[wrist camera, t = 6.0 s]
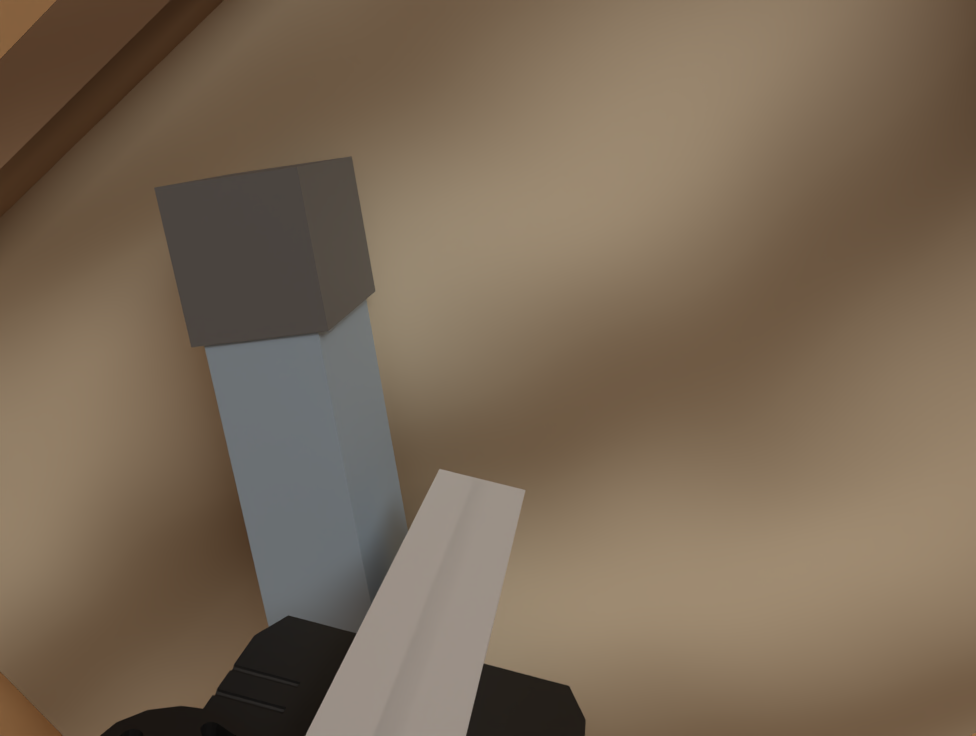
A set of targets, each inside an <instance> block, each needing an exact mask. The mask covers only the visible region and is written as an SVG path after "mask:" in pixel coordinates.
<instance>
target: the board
mask: <svg viewBox="0 0 976 736" xmlns="http://www.w3.org/2000/svg"><path fill="white" fill-rule="evenodd" d="M350 156H352V161H353V166H354V172H355V178H356V183H357V189H358V195H359V200H360V206H361V212H362V217H363V223H364V229H365V234H366V240H367V246H368V251H369V257H370V263H371V268H372V274H373V280H374V285H375V292H374V293H373V294H372V295H370V296H369V297H368V298H367V299H366V301H367V306H368V312H369V317H370V323H371V328H372V334H373V340H374V345H375V351H376V356H377V362H378V367H379V373H380V379H381V384H382V390H383V395H384V401H385V406H386V412H387V418H388V423H389V429H390V434H391V440H392V445H393V451H394V456H395V462H396V468H397V473H398V479H399V484H400V490H401V495H402V501H403V507H404V512H405V518H406V523H407V529H408V531H409V529H410V527H411V525H412V523H413V521H414V519H415V517H416V515H417V513H418V511H419V509H420V507H421V505H422V503H423V501H424V499H425V497H426V495H427V493H428V491H429V489H430V487H431V485H432V483H433V481H434V479H435V477H436V475H437V473H438V471H439V469H442V470H446V471H450V472H454V473H458V474H462V475H466V476H470V477H475V478H479V479H483V480H487V481H491V482H495V483H499V484H503V485H507V486H511V487H515V488H519V489H523V490H525V494H524V498H523V502H522V507H521V511H520V515H519V519H518V523H517V528H516V532H515V536H514V540H513V544H512V549H511V553H510V557H509V561H508V566H507V570H506V574H505V578H504V582H503V587H502V591H501V595H500V599H499V603H498V608H497V612H496V616H495V620H494V624H493V629H492V633H491V637H490V641H489V645H488V650H487V654H486V658H485V662H484V664H488V665H492V666H496V667H499V668H503V669H507V670H511V671H515V672H518V673H522V674H526V675H530V676H534V677H537V678H541V679H545V680H549V681H553V682H556V683H560V684H564V685H568V686H570V689H571V691H572V693H573V695H574V697H575V699H576V701H577V703H578V705H579V707H580V709H581V711H582V713H583V715H584V717H585V719H586V725H585V736H970V735H972V734H974V733H976V0H57V1H56V2H55V3H54V4H53V5H52V6H51V7H50V8H49V9H48V10H47V11H46V12H45V13H44V14H43V15H42V16H41V17H40V18H39V19H38V20H37V21H36V22H35V23H34V25H33V26H32V27H31V28H30V29H29V30H28V31H27V32H26V33H25V34H24V35H23V36H22V37H21V38H20V39H19V40H18V41H17V42H16V43H15V44H14V45H13V46H12V47H11V48H10V49H9V50H8V52H7V53H6V54H5V55H4V56H3V57H2V58H1V59H0V672H1V673H2V674H3V675H4V676H5V677H6V678H7V679H8V680H9V681H10V682H11V683H12V684H13V685H14V686H15V687H16V688H17V689H18V690H19V691H20V692H21V693H22V694H23V695H24V696H25V697H26V698H27V699H28V700H29V701H30V702H31V703H32V704H33V705H34V706H35V708H36V709H37V710H38V711H39V712H40V713H41V714H42V715H43V716H44V717H45V718H46V719H47V720H48V721H49V722H50V723H51V724H52V725H53V726H54V727H55V728H56V729H57V730H58V731H59V732H60V733H61V734H62V735H63V736H100V735H101V734H103V733H104V732H105V731H106V730H107V729H109V728H110V727H111V726H112V725H114V724H115V723H116V722H118V721H121V720H123V719H126V718H128V717H131V716H133V715H136V714H139V713H141V712H144V711H146V710H151V709H159V708H167V707H176V706H187V707H195V708H202V709H203V708H204V706H205V705H206V704H207V702H208V701H209V699H210V698H211V696H212V695H215V694H216V691H217V688H218V686H219V685H220V684H221V682H222V681H223V679H224V678H225V676H226V675H227V674H228V672H229V671H230V670H232V669H233V666H234V663H235V662H236V661H237V659H238V658H239V656H240V655H241V653H242V652H243V651H244V649H245V648H246V646H247V645H248V643H249V642H250V641H251V639H252V638H253V636H254V635H256V634H257V633H259V632H261V631H262V630H264V629H266V628H268V627H269V626H268V622H267V617H266V613H265V609H264V604H263V600H262V596H261V591H260V587H259V582H258V578H257V574H256V569H255V565H254V561H253V556H252V552H251V548H250V543H249V539H248V534H247V530H246V526H245V521H244V517H243V513H242V508H241V504H240V500H239V495H238V491H237V486H236V482H235V478H234V473H233V469H232V465H231V460H230V456H229V452H228V447H227V443H226V438H225V434H224V430H223V425H222V421H221V417H220V412H219V408H218V404H217V399H216V395H215V390H214V386H213V382H212V377H211V373H210V369H209V364H208V360H207V356H206V351H205V347H204V346H199V347H191V344H190V340H189V335H188V331H187V327H186V323H185V318H184V314H183V310H182V305H181V301H180V297H179V293H178V288H177V284H176V280H175V275H174V271H173V267H172V262H171V258H170V254H169V250H168V245H167V241H166V237H165V232H164V228H163V224H162V220H161V215H160V211H159V207H158V202H157V198H156V194H155V190H154V187H160V186H166V185H171V184H177V183H183V182H188V181H194V180H200V179H205V178H211V177H217V176H222V175H228V174H234V173H241V172H247V171H254V170H261V169H268V168H275V167H282V166H289V165H295V164H302V163H309V162H316V161H323V160H330V159H336V158H343V157H350Z"/></svg>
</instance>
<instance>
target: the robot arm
mask: <svg viewBox="0 0 976 736" xmlns="http://www.w3.org/2000/svg"><path fill="white" fill-rule="evenodd" d="M524 494H525V490H523V489H519V488H515V487H511V486H507V485H503V484H499V483H495V482H491V481H487V480H483V479H479V478H475V477H470V476H466V475H462V474H458V473H454V472H450V471H446V470H442V469H439V471H438V473H437V475H436V477H435V479H434V481H433V483H432V485H431V487H430V489H429V491H428V493H427V495H426V497H425V499H424V501H423V503H422V505H421V507H420V509H419V511H418V513H417V515H416V517H415V519H414V521H413V523H412V525H411V527H410V529H409V531H408V533H407V535H406V537H405V539H404V540H403V542H402V544H401V546H400V548H399V550H398V552H397V554H396V556H395V558H394V560H393V562H392V564H391V566H390V568H389V570H388V572H387V574H386V576H385V578H384V580H383V582H382V584H381V586H380V588H379V590H378V592H377V594H376V596H375V598H374V600H373V602H372V604H371V606H370V608H369V610H368V612H367V614H366V616H365V618H364V620H363V622H362V624H361V626H360V628H359V630H358V632H357V633H354V632H350V631H346V630H342V629H338V628H335V627H331V626H327V625H323V624H319V623H316V622H312V621H308V620H304V619H300V618H297V617H293V616H289V615H288V616H286V617H285V618H283V619H281V620H280V621H278V622H276V623H274V624H273V625H271V626H269V627H268V628H266V629H264V630H262V631H261V632H259V633H257V634H256V635H254V636H253V638H252V639H251V641H250V642H249V643H248V645H247V646H246V648H245V649H244V651H243V652H242V653H241V655H240V656H239V658H238V659H237V661H236V662H235V663H234V666H233V669H232V670H230V671H229V672H228V674H227V675H226V676H225V678H224V679H223V681H222V682H221V684H220V685H219V686H218V688H217V691H216V694H215V695H212V696H211V698H210V699H209V701H208V702H207V704H206V705H205V706H204V708H203V709H202V708H195V707H187V706H176V707H167V708H159V709H151V710H146V711H144V712H141V713H139V714H136V715H133V716H131V717H128V718H126V719H123V720H121V721H118V722H116V723H115V724H114V725H112V726H111V727H110V728H109V729H107V730H106V731H105V732H104V733H103V734H101V735H100V736H585V725H586V719H585V717H584V715H583V713H582V711H581V709H580V707H579V705H578V703H577V701H576V699H575V697H574V695H573V693H572V691H571V689H570V686H568V685H564V684H560V683H556V682H553V681H549V680H545V679H541V678H537V677H534V676H530V675H526V674H522V673H518V672H515V671H511V670H507V669H503V668H499V667H496V666H492V665H488V664H484V662H485V658H486V654H487V650H488V645H489V641H490V637H491V633H492V629H493V624H494V620H495V616H496V612H497V608H498V603H499V599H500V595H501V591H502V587H503V582H504V578H505V574H506V570H507V566H508V561H509V557H510V553H511V549H512V544H513V540H514V536H515V532H516V528H517V523H518V519H519V515H520V511H521V507H522V502H523V498H524Z"/></svg>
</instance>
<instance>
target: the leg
mask: <svg viewBox="0 0 976 736" xmlns="http://www.w3.org/2000/svg"><path fill="white" fill-rule="evenodd" d="M154 190H155V194H156V198H157V202H158V207H159V211H160V215H161V220H162V224H163V228H164V232H165V237H166V241H167V245H168V250H169V254H170V258H171V262H172V267H173V271H174V275H175V280H176V284H177V288H178V293H179V297H180V301H181V305H182V310H183V314H184V318H185V323H186V327H187V331H188V335H189V340H190V344H191V347H199V346H204V347H205V351H206V356H207V360H208V364H209V369H210V373H211V377H212V382H213V386H214V390H215V395H216V399H217V404H218V408H219V412H220V417H221V421H222V425H223V430H224V434H225V438H226V443H227V447H228V452H229V456H230V460H231V465H232V469H233V473H234V478H235V482H236V486H237V491H238V495H239V500H240V504H241V508H242V513H243V517H244V521H245V526H246V530H247V534H248V539H249V543H250V548H251V552H252V556H253V561H254V565H255V569H256V574H257V578H258V582H259V587H260V591H261V596H262V600H263V604H264V609H265V613H266V617H267V622H268V626H271V625H273V624H274V623H276V622H278V621H280V620H281V619H283V618H285V617H286V616H288V615H289V616H293V617H297V618H300V619H304V620H308V621H312V622H316V623H319V624H323V625H327V626H331V627H335V628H338V629H342V630H346V631H350V632H354V633H357V632H358V630H359V628H360V626H361V624H362V622H363V620H364V618H365V616H366V614H367V612H368V610H369V608H370V606H371V604H372V602H373V600H374V598H375V596H376V594H377V592H378V590H379V588H380V586H381V584H382V582H383V580H384V578H385V576H386V574H387V572H388V570H389V568H390V566H391V564H392V562H393V560H394V558H395V556H396V554H397V552H398V550H399V548H400V546H401V544H402V542H403V540H404V539H405V537H406V535H407V533H408V529H407V523H406V518H405V512H404V507H403V501H402V495H401V490H400V484H399V479H398V473H397V468H396V462H395V456H394V451H393V445H392V440H391V434H390V429H389V423H388V418H387V412H386V406H385V401H384V395H383V390H382V384H381V379H380V373H379V367H378V362H377V356H376V351H375V345H374V340H373V334H372V328H371V323H370V317H369V312H368V306H367V301H366V299H367V298H368V297H369V296H370V295H372V294H373V293H374V292H375V285H374V280H373V274H372V268H371V263H370V257H369V251H368V246H367V240H366V234H365V229H364V223H363V217H362V212H361V206H360V200H359V195H358V189H357V183H356V178H355V172H354V166H353V161H352V156H350V157H343V158H336V159H330V160H323V161H316V162H309V163H302V164H295V165H289V166H282V167H275V168H268V169H261V170H254V171H247V172H241V173H234V174H228V175H222V176H217V177H211V178H205V179H200V180H194V181H188V182H183V183H177V184H171V185H166V186H160V187H154Z"/></svg>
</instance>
